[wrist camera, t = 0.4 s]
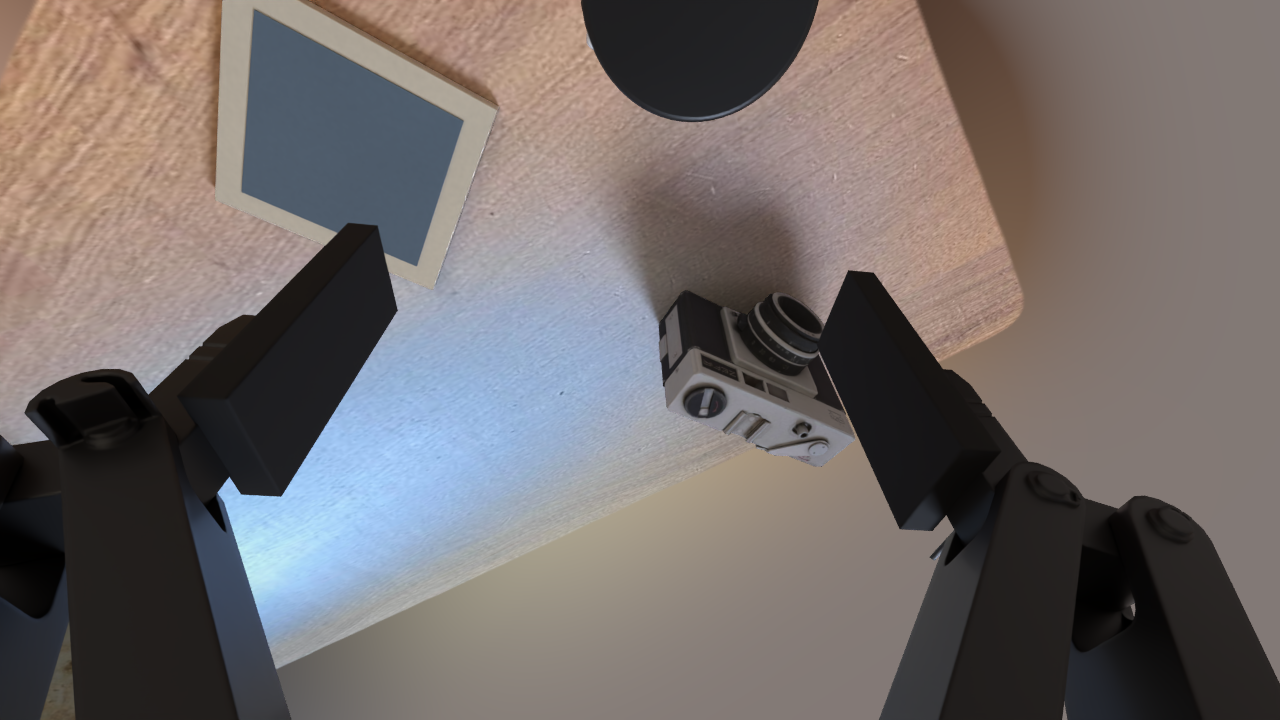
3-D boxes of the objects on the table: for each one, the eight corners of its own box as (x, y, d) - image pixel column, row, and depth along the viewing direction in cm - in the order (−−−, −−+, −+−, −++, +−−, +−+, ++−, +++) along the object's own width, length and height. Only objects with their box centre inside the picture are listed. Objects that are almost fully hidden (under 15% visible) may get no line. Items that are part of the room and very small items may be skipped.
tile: (232, -42, 26) (221, -41, 25) (499, 106, 30) (496, 110, 29) (222, 195, 33) (213, 200, 33) (436, 284, 38) (432, 291, 37)
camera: (858, 331, 41) (905, 425, 33) (775, 394, 46) (799, 489, 38) (732, 237, 36) (753, 325, 28) (653, 320, 40) (653, 414, 33)
